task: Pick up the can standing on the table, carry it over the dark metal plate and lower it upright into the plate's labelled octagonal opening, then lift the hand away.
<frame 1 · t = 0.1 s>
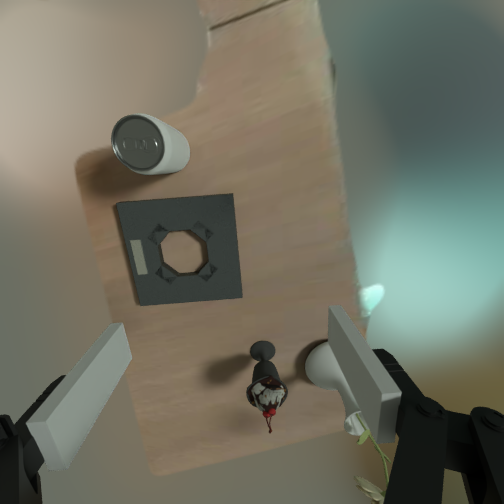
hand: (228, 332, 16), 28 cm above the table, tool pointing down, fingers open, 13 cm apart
socket plate: (185, 250, 44), on the table
sundae: (262, 350, 51), on the table
flower in vase: (332, 361, 52), on the table
can: (169, 150, 39), on the table
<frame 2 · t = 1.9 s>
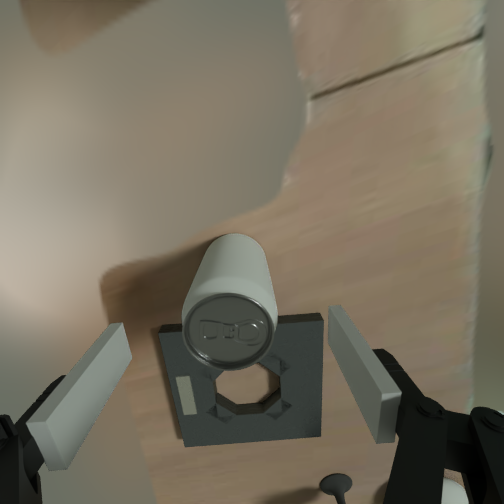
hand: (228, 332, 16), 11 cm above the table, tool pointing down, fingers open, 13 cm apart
socket plate: (247, 380, 32), on the table
sundae: (335, 482, 40), on the table
flower in vase: (421, 491, 41), on the table
can: (235, 261, 27), on the table
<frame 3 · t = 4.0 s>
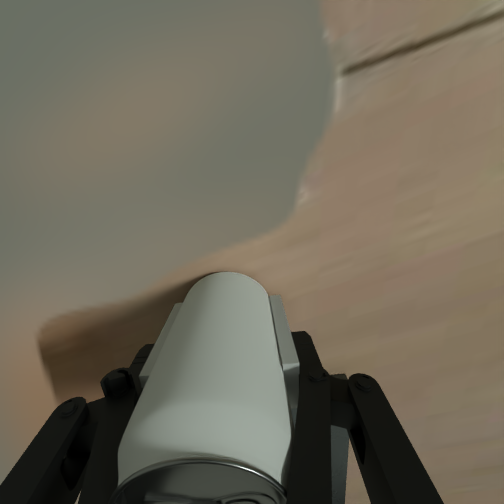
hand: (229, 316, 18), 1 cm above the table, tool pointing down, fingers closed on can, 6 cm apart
socket plate: (245, 457, 24), on the table
can: (228, 307, 19), on the table, touching gripper
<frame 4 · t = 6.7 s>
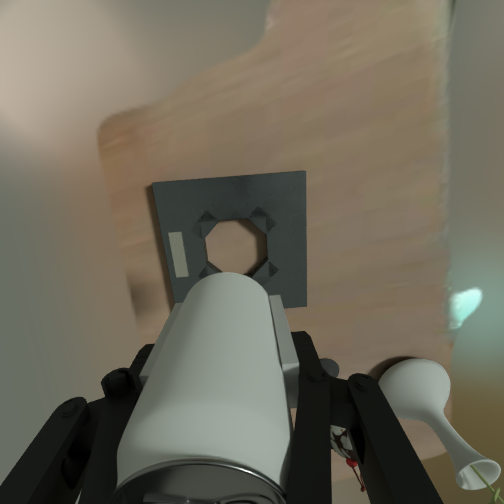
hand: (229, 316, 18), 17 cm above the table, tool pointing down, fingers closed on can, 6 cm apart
socket plate: (236, 246, 34), on the table
sundae: (323, 370, 41), on the table
flower in vase: (406, 382, 43), on the table
can: (228, 308, 19), point 16 cm above the table, touching gripper
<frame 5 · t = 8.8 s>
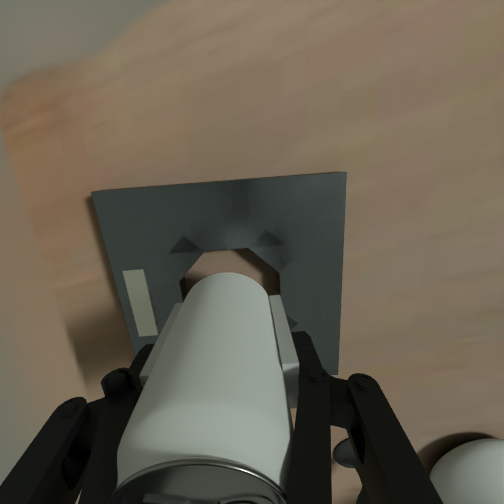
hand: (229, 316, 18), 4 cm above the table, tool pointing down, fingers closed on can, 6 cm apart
socket plate: (232, 287, 22), on the table
sundae: (354, 450, 30), on the table
flower in vase: (468, 463, 31), on the table
can: (228, 308, 19), point 3 cm above the table, touching gripper
when the fingers open (3 cm above the table, at t = 9.9 s): can drops 2 cm, resting in socket plate.
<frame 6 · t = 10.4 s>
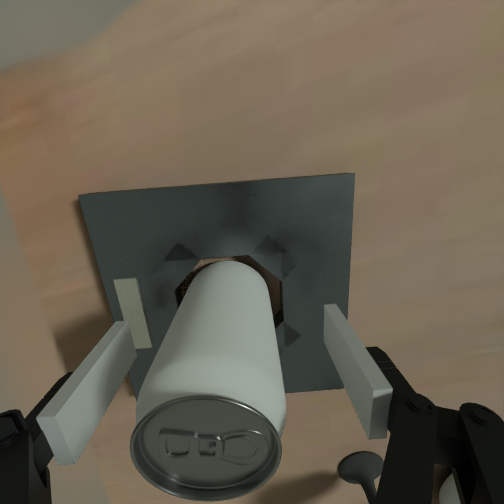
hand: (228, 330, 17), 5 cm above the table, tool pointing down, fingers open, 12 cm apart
socket plate: (231, 296, 21), on the table
sundae: (360, 465, 28), on the table
flower in vase: (479, 478, 29), on the table
can: (229, 294, 21), resting in socket plate
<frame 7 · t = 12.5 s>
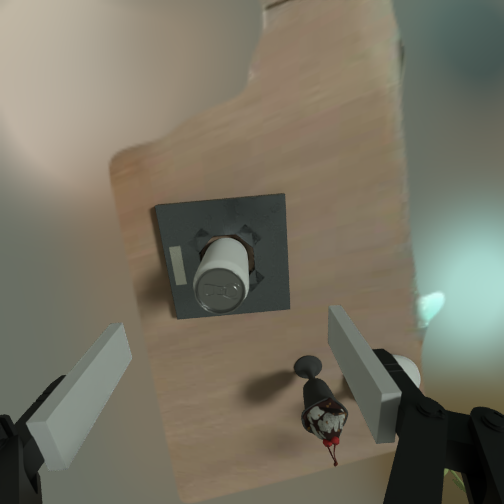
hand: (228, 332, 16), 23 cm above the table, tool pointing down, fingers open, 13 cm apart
socket plate: (228, 257, 39), on the table
sundae: (307, 366, 46), on the table
flower in vase: (383, 376, 48), on the table
can: (226, 256, 40), resting in socket plate
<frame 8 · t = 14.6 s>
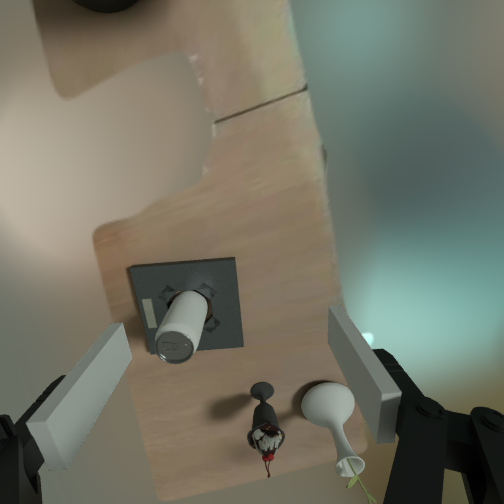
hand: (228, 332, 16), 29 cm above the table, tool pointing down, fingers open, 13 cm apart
socket plate: (191, 305, 48), on the table
sundae: (262, 390, 55), on the table
flower in vase: (326, 399, 57), on the table
can: (190, 304, 48), resting in socket plate
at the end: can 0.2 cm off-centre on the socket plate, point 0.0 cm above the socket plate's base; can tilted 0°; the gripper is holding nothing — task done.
